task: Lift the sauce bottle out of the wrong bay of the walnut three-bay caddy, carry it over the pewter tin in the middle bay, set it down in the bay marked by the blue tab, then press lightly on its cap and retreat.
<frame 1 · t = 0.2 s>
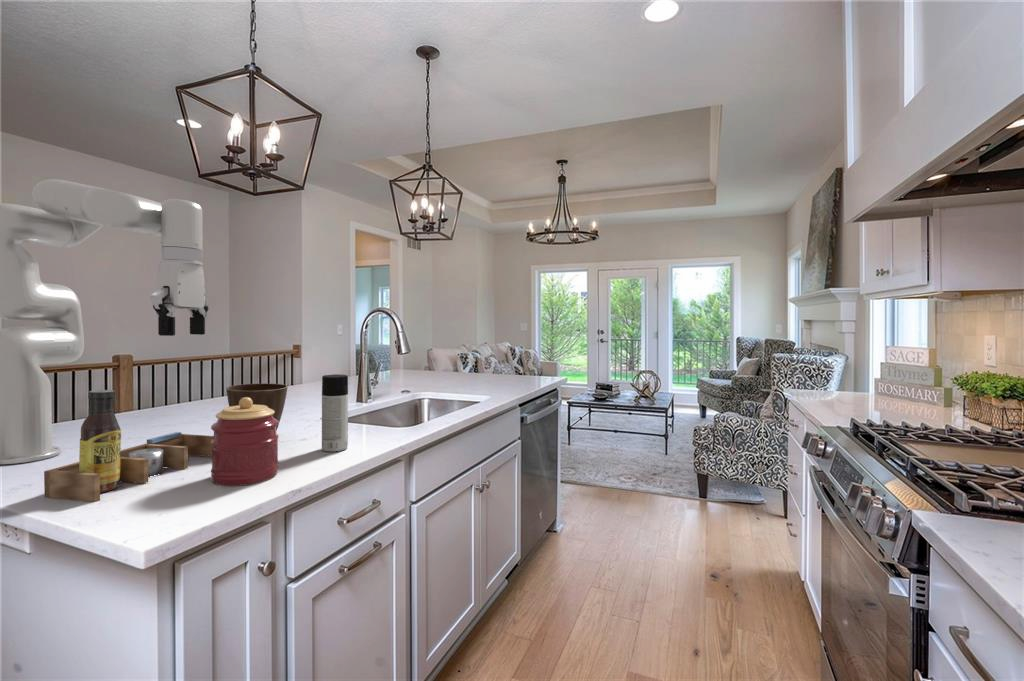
hand: (182, 334, 105), 31 cm above the countertop, tool pointing down, fingers open, 9 cm apart
spray can: (334, 449, 128), on the countertop
caddy: (146, 473, 105), on the countertop
plant pot: (257, 444, 131), on the countertop
sauce bottle: (100, 490, 95), resting in caddy
canister: (245, 477, 104), on the countertop
tin: (146, 474, 105), resting in caddy
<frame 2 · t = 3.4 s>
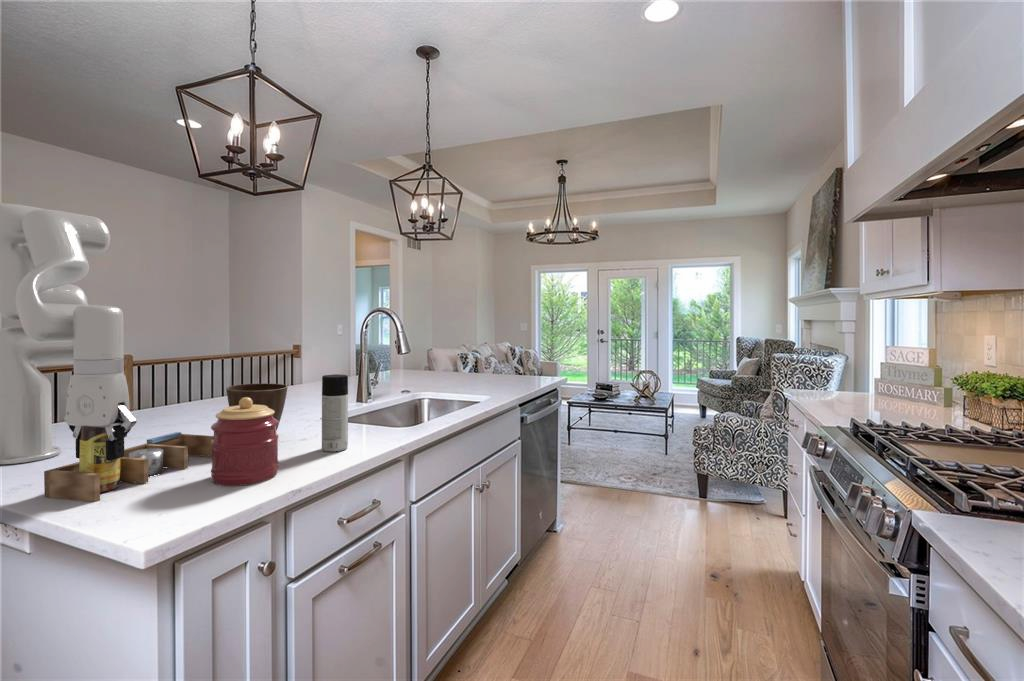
hand: (100, 456, 94), 7 cm above the countertop, tool pointing down, fingers closed on sauce bottle, 6 cm apart
sauce bottle: (100, 490, 95), resting in caddy, touching gripper
everything else where it was.
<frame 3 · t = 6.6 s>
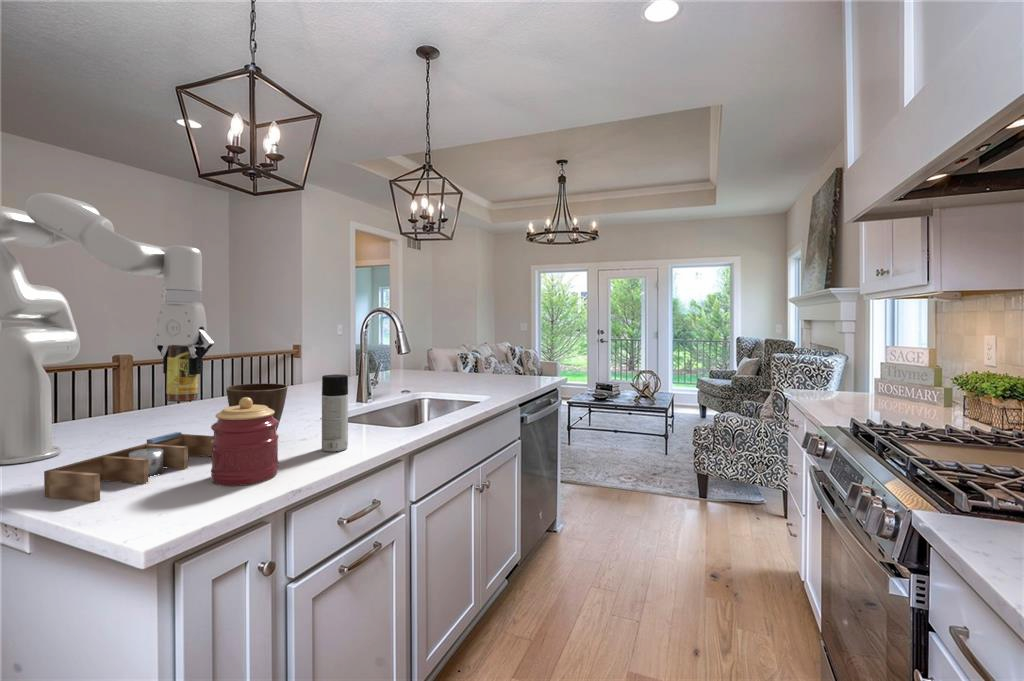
hand: (182, 372, 113), 21 cm above the countertop, tool pointing down, fingers closed on sauce bottle, 6 cm apart
sauce bottle: (182, 401, 114), point 15 cm above the countertop, touching gripper
everything else where it was.
when the fingers open (8 cm above the countertop, at t = 9.6 s): sauce bottle drops 1 cm, resting in caddy.
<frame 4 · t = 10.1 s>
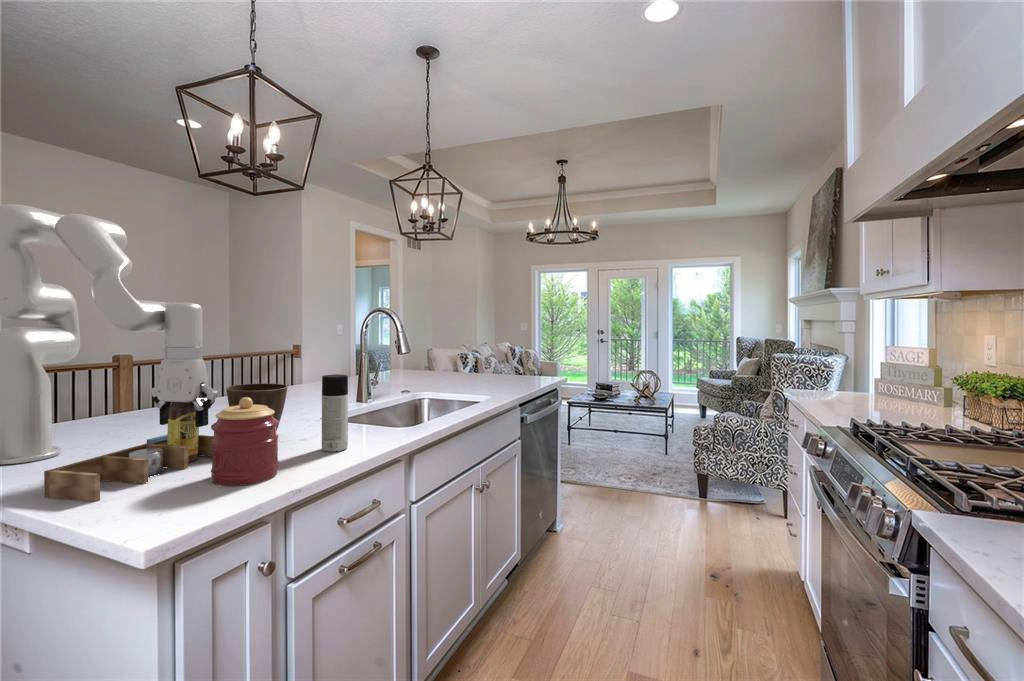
hand: (184, 424, 114), 9 cm above the countertop, tool pointing down, fingers open, 9 cm apart
sauce bottle: (183, 461, 114), resting in caddy
everything else where it was.
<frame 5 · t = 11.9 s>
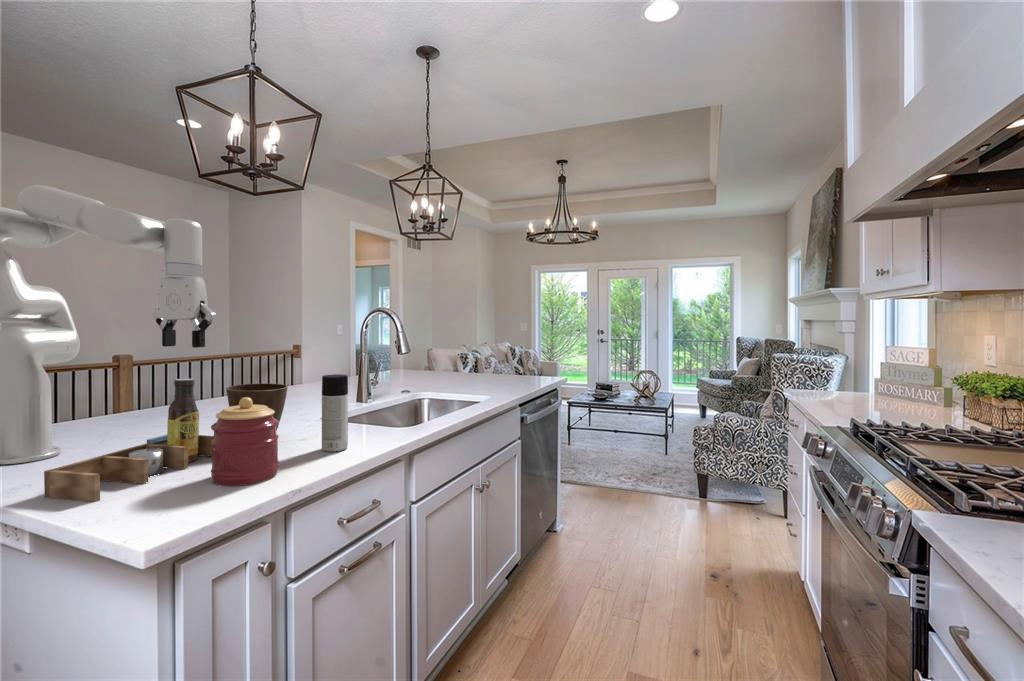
hand: (183, 346, 113), 28 cm above the countertop, tool pointing down, fingers open, 7 cm apart
nothing on the countertop moved.
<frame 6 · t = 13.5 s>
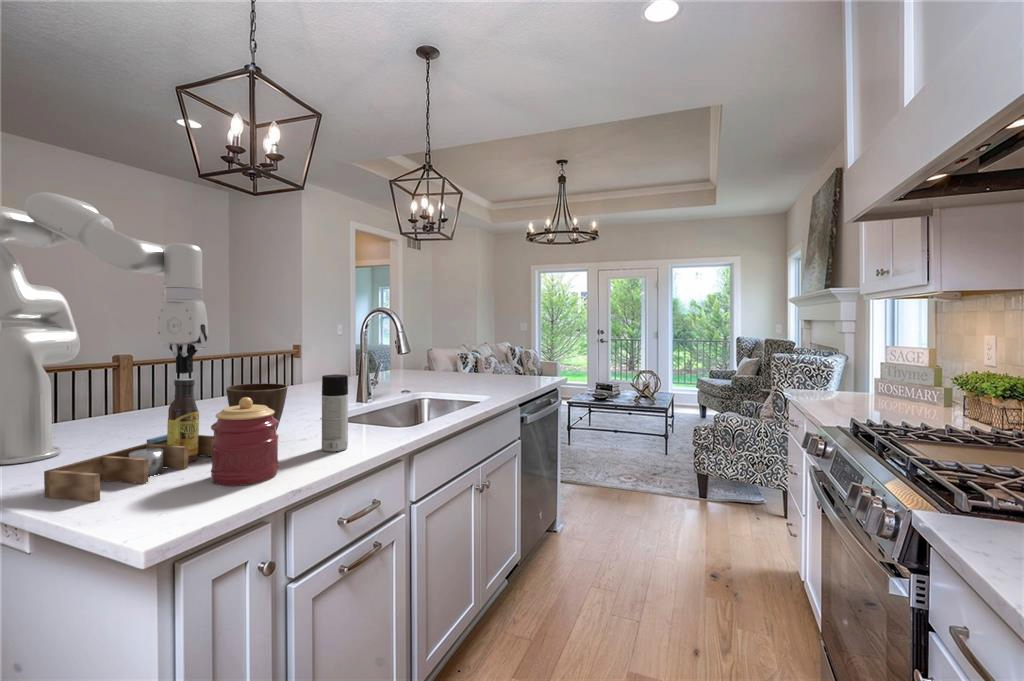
hand: (184, 372, 114), 21 cm above the countertop, tool pointing down, fingers closed
nothing on the countertop moved.
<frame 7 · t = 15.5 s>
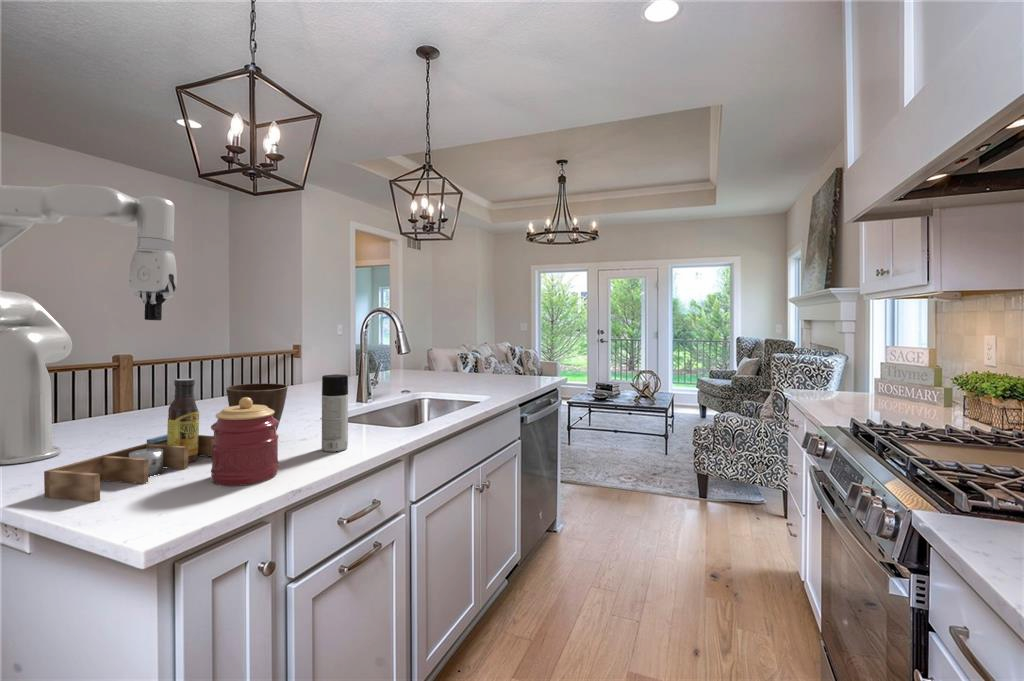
hand: (153, 319, 120), 34 cm above the countertop, tool pointing down, fingers closed
nothing on the countertop moved.
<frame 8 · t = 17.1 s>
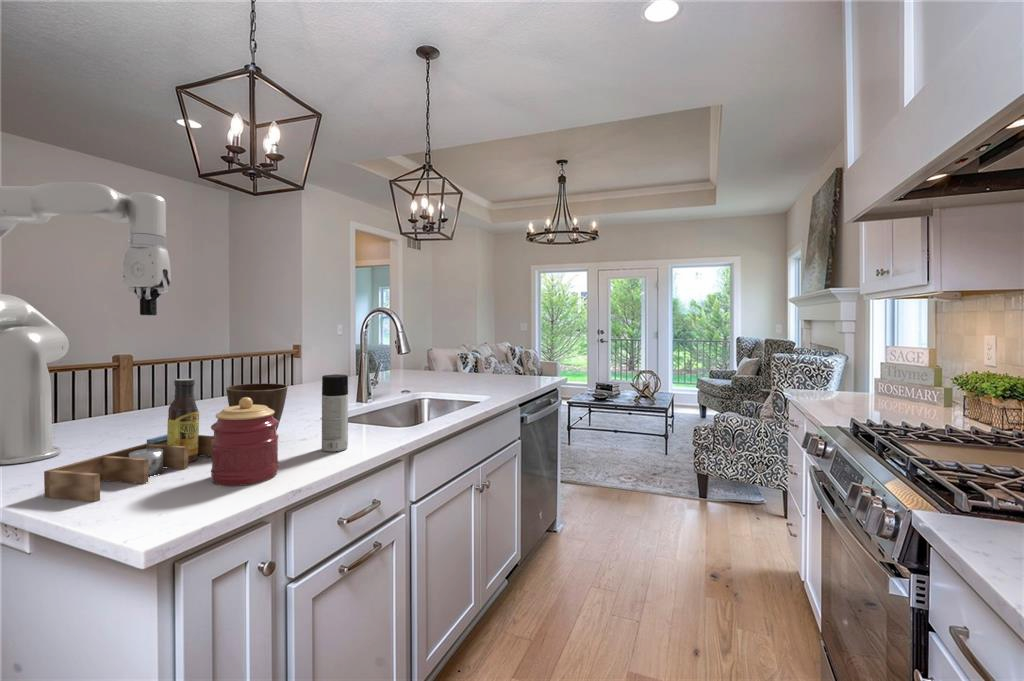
hand: (148, 315, 121), 35 cm above the countertop, tool pointing down, fingers closed
nothing on the countertop moved.
at the end: sauce bottle inside the target area on the caddy (0.7 cm from its centre), point 0.0 cm above the caddy's base; sauce bottle tilted 0°; the gripper is holding nothing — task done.
